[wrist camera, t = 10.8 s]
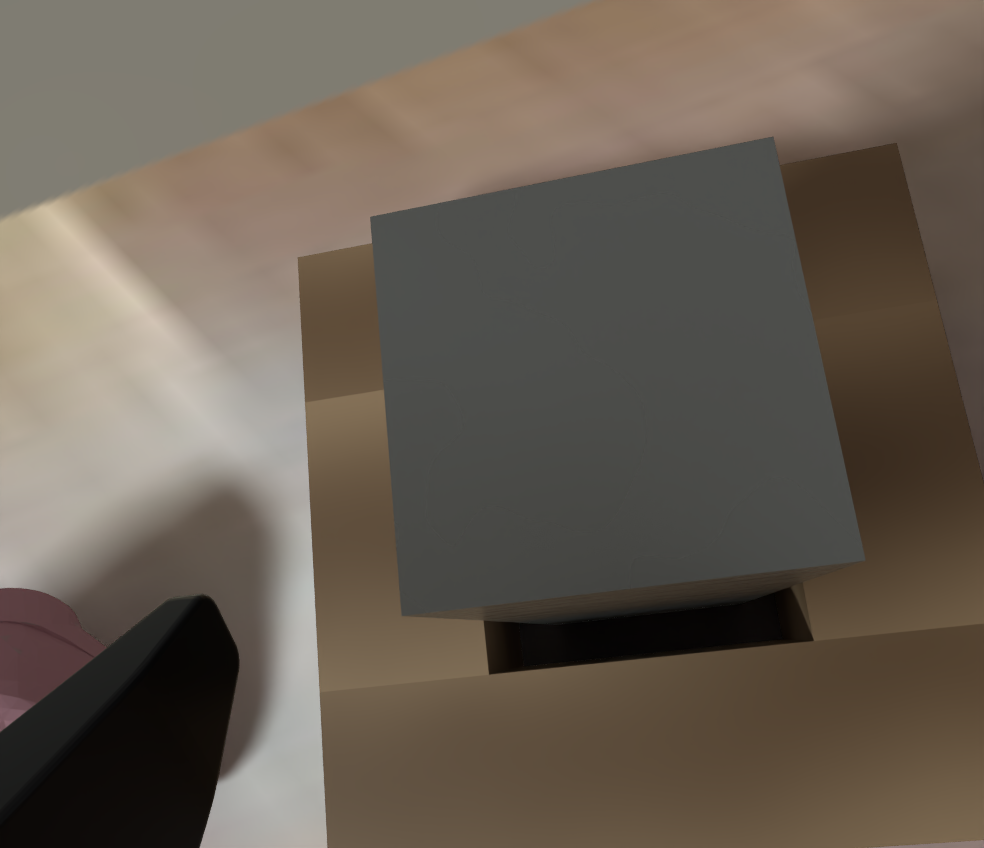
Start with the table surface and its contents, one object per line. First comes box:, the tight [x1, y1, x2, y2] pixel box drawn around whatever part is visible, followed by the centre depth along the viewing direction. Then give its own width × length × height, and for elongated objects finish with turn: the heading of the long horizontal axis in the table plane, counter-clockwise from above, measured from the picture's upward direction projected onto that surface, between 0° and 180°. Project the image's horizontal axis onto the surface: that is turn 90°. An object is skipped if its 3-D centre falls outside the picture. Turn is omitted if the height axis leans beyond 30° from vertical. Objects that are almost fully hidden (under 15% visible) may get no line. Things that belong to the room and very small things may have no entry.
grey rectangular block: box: [370, 137, 866, 625], centre depth 14 cm, size 4×4×12 cm
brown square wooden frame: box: [298, 143, 984, 848], centre depth 17 cm, size 12×12×4 cm
